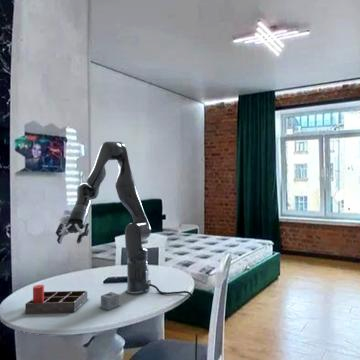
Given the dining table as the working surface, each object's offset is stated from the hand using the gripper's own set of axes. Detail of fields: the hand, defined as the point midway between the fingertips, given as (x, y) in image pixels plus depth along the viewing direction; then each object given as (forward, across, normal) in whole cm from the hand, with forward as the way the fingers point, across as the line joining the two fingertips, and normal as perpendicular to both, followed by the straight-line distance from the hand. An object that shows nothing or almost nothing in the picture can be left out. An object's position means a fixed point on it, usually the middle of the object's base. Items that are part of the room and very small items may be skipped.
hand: (68, 242), depth 145 cm
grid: (+27, +2, +6) cm, 28 cm away
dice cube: (+29, +24, +5) cm, 38 cm away
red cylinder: (+29, -4, +4) cm, 29 cm away
